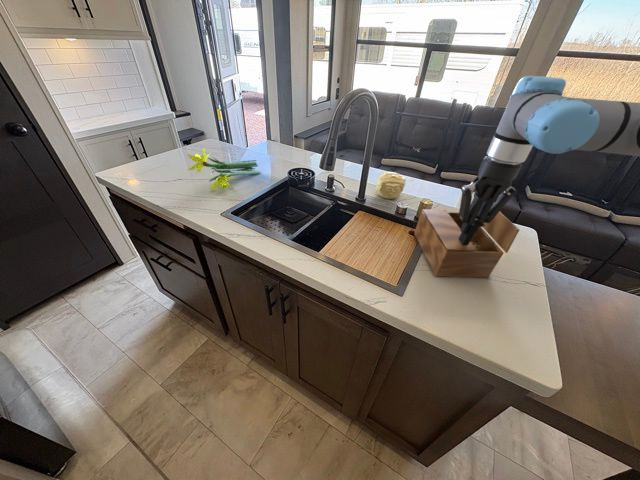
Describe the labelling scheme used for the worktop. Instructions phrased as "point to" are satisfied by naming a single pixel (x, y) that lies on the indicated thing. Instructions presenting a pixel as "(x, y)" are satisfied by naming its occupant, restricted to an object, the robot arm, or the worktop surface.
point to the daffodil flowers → (222, 165)
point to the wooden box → (466, 260)
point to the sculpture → (390, 185)
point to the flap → (447, 229)
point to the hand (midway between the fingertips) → (463, 241)
